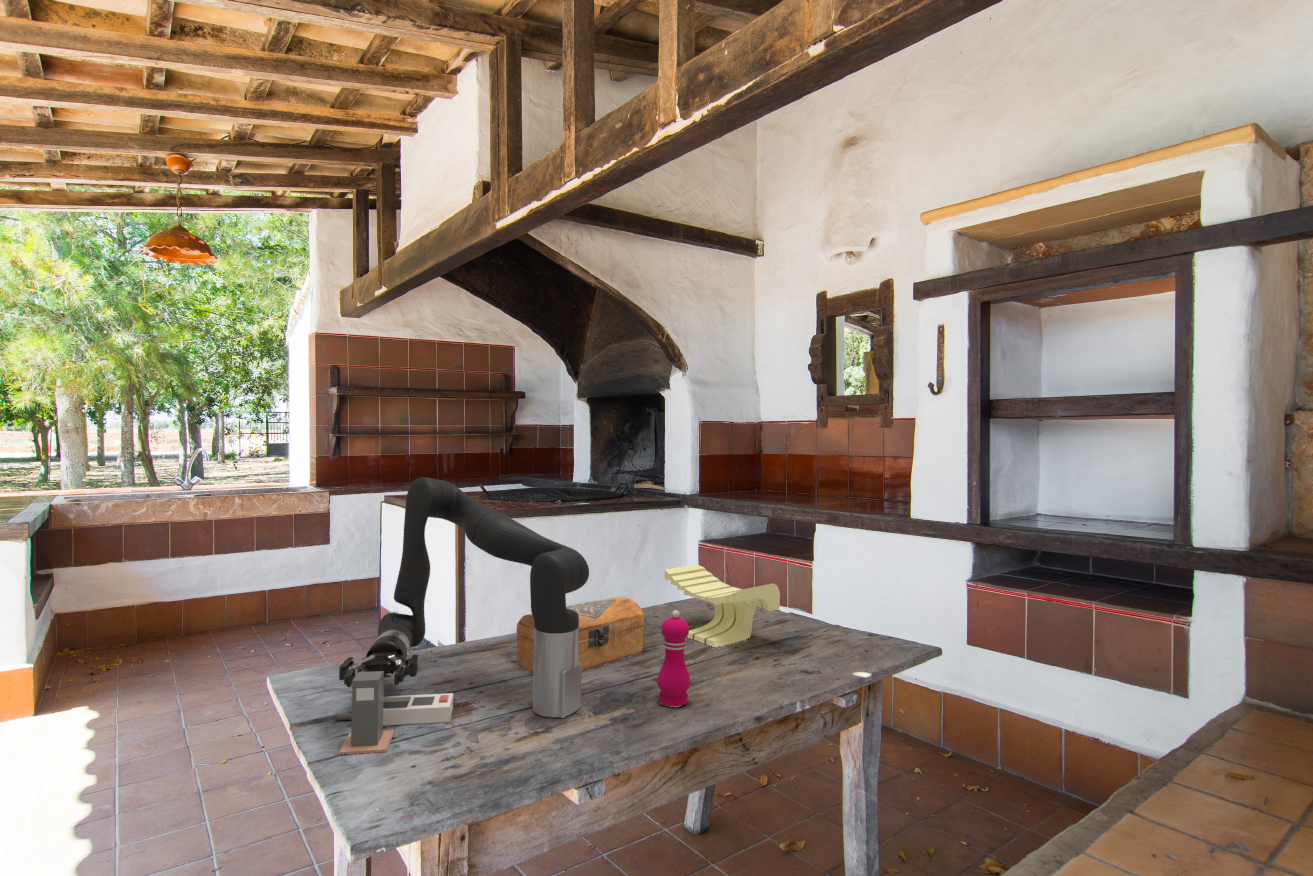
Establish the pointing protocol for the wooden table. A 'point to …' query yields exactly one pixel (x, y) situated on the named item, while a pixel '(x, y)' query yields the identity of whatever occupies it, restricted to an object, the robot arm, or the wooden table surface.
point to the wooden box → (594, 632)
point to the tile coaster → (380, 747)
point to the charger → (367, 708)
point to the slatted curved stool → (723, 604)
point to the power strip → (413, 709)
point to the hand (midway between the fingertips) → (372, 680)
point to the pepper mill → (674, 662)
